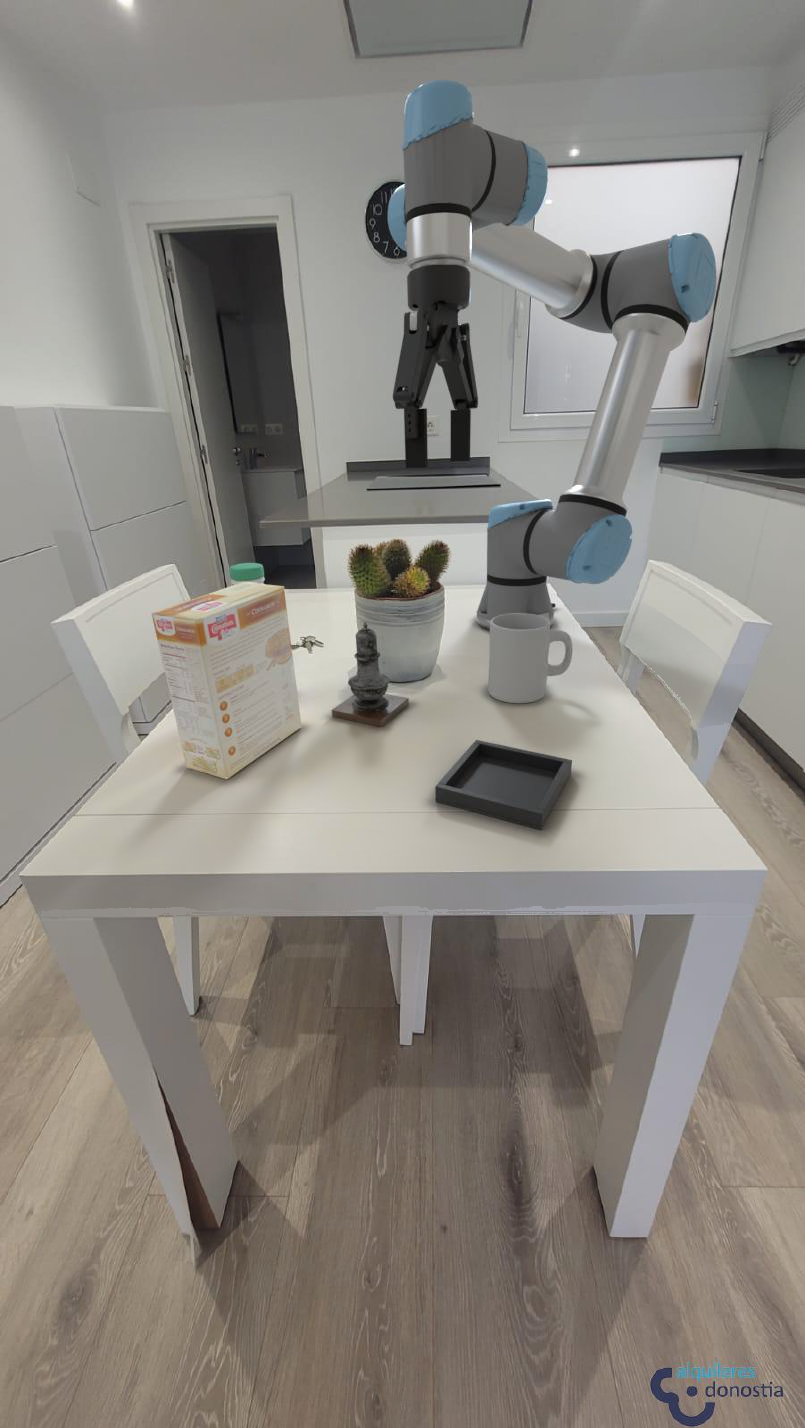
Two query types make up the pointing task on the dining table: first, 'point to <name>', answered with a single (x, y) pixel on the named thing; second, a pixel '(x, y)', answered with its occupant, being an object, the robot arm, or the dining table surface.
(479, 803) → the pan
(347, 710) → the coaster
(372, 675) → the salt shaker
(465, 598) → the dining table surface
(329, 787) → the dining table surface
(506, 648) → the mug
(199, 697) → the coffeecake box
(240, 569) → the milk bottle
